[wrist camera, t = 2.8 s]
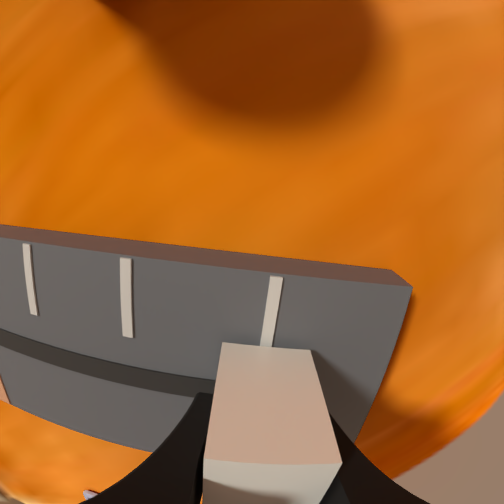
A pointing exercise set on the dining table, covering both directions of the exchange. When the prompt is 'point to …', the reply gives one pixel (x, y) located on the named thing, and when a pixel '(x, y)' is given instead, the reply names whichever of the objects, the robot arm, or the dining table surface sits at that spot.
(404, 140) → the dining table surface
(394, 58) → the dining table surface
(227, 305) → the console
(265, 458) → the fader
